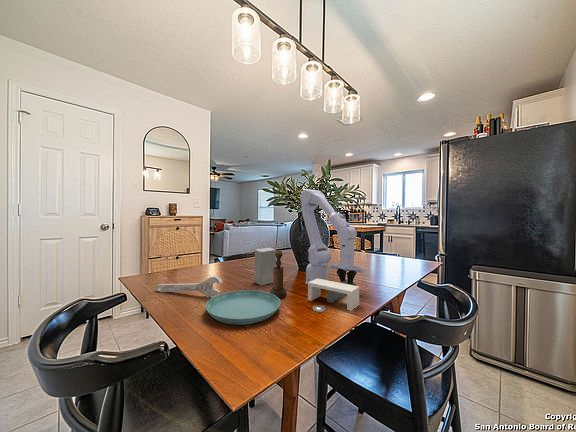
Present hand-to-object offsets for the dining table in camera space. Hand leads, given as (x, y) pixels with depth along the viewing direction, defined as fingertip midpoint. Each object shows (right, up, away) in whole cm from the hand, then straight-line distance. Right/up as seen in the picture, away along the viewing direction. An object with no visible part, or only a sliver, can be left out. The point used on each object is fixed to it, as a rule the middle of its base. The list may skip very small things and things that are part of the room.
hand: (346, 287), depth 100 cm
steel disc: (-14, -2, -19) cm, 23 cm away
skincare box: (-35, -1, +11) cm, 37 cm away
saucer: (-39, -2, -21) cm, 44 cm away
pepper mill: (-28, -2, -6) cm, 29 cm away
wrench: (-64, -1, -6) cm, 64 cm away
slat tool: (-3, -2, -4) cm, 5 cm away
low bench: (-8, -2, -12) cm, 15 cm away
